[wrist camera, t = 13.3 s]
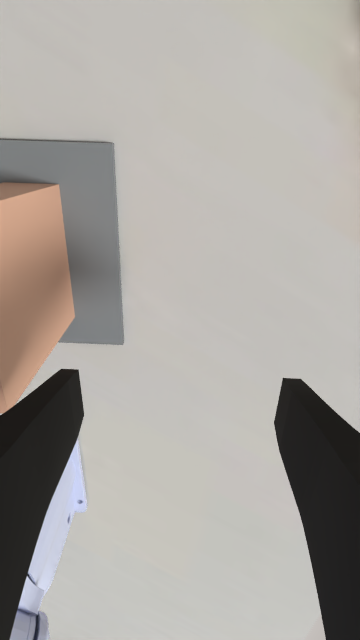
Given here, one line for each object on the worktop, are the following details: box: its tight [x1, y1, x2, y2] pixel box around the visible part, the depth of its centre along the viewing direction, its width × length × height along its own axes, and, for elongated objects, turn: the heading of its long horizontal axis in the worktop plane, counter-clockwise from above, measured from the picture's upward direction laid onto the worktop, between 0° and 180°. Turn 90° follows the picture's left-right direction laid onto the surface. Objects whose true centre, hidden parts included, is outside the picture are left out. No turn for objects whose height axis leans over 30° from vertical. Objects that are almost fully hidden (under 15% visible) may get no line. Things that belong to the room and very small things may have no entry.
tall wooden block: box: [0, 182, 75, 413], centre depth 16 cm, size 8×3×9 cm, turn 178°
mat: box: [0, 140, 124, 345], centre depth 21 cm, size 12×9×1 cm
